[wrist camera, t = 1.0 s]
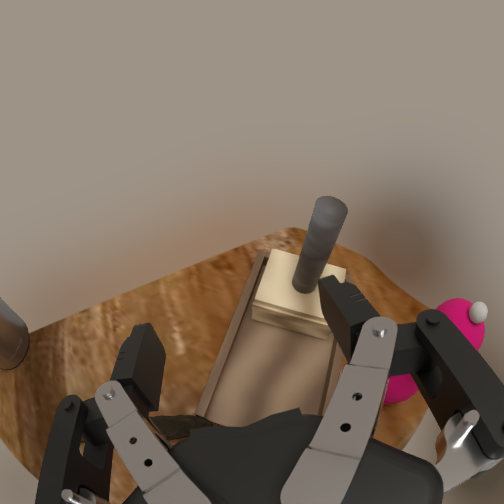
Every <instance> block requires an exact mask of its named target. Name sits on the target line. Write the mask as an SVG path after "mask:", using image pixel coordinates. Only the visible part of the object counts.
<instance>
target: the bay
mask: <svg viewBox="0 0 504 504" xmlns="http://www.w3.org/2000/svg"><path fill="white" fill-rule="evenodd" d="M270 254H271V253H270V252H267V251H263V250H259V252H258V255H257V257H256V260H255V262H254V265H253V268H252V270H251V273H250V275H249V278H248V280H247V283H246V285H245V288H244V290H243V293H242V296H241V298H240V301H239V303H238V306H237V308H236V311H235V313H234V316H233V318H232V321H231V323H230V326H229V328H228V331H227V334H226V336H225V339H224V341H223V344H222V346H221V349H220V351H219V354H218V356H217V359H216V361H215V364H214V366H213V369H212V371H211V374H210V376H209V379H208V381H207V384H206V386H205V389H204V391H203V394H202V396H201V399H200V401H199V404H198V406H197V409H196V411H195V415H196V416H197V417H202V418H206V419H207V420H209V421H210V422H213V423H216V424H219V425H222V426H230V427H245V426H248V425H250V424H252V423H254V422H257V421H259V420H261V419H263V418H265V417H268V416H270V415H272V414H276V413H280V412H284V411H288V410H291V409H295V408H298V407H300V411H301V414H316V415H323V416H324V414H325V412H326V410H327V408H328V406H329V403H330V401H331V399H332V396H333V394H334V392H335V389H336V387H337V384H338V379H339V374H340V368H341V363H342V357H343V352H342V350H341V348H340V346H339V344H338V342H337V341H336V339H335V337H334V335H333V333H331V334H330V336H329V337H328V338H327V339H326V340H325V339H321V338H317V337H314V336H310V335H306V334H302V333H299V332H295V331H291V330H288V329H284V328H281V327H277V326H274V325H270V324H267V323H263V322H260V321H257V320H253V319H251V318H252V312H253V310H252V306H253V302H254V299H255V296H256V293H257V291H258V288H259V285H260V282H261V279H262V276H263V274H264V271H265V268H266V265H267V262H268V259H269V257H270ZM352 278H353V276H352V275H348V274H345V282H349V283H351V284H352Z"/></svg>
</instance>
